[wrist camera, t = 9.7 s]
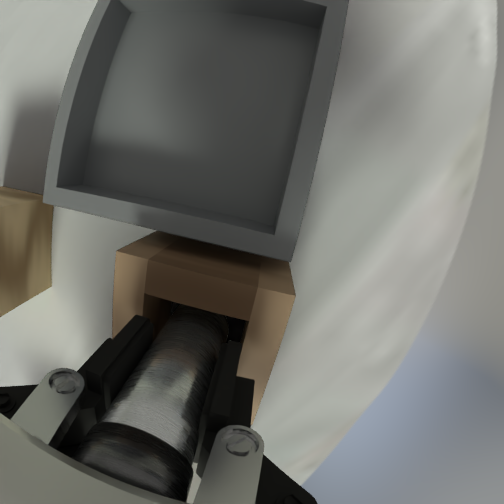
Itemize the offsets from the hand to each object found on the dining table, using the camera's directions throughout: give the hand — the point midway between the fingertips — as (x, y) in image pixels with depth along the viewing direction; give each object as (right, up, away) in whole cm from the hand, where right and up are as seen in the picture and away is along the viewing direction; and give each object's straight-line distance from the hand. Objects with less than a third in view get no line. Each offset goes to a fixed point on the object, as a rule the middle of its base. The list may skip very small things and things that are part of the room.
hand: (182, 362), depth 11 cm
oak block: (-13, +5, +5) cm, 15 cm away
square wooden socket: (0, +1, +5) cm, 5 cm away
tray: (0, +12, +3) cm, 12 cm away
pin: (0, +1, +3) cm, 3 cm away
